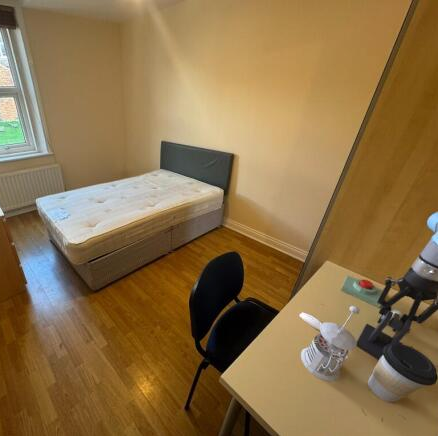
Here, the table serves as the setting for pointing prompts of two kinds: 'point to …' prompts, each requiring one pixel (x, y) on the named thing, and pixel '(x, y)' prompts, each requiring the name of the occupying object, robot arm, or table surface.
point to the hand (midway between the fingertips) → (387, 325)
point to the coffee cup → (401, 373)
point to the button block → (361, 291)
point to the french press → (329, 350)
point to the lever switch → (396, 319)
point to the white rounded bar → (311, 320)
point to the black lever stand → (380, 336)
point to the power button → (366, 284)
